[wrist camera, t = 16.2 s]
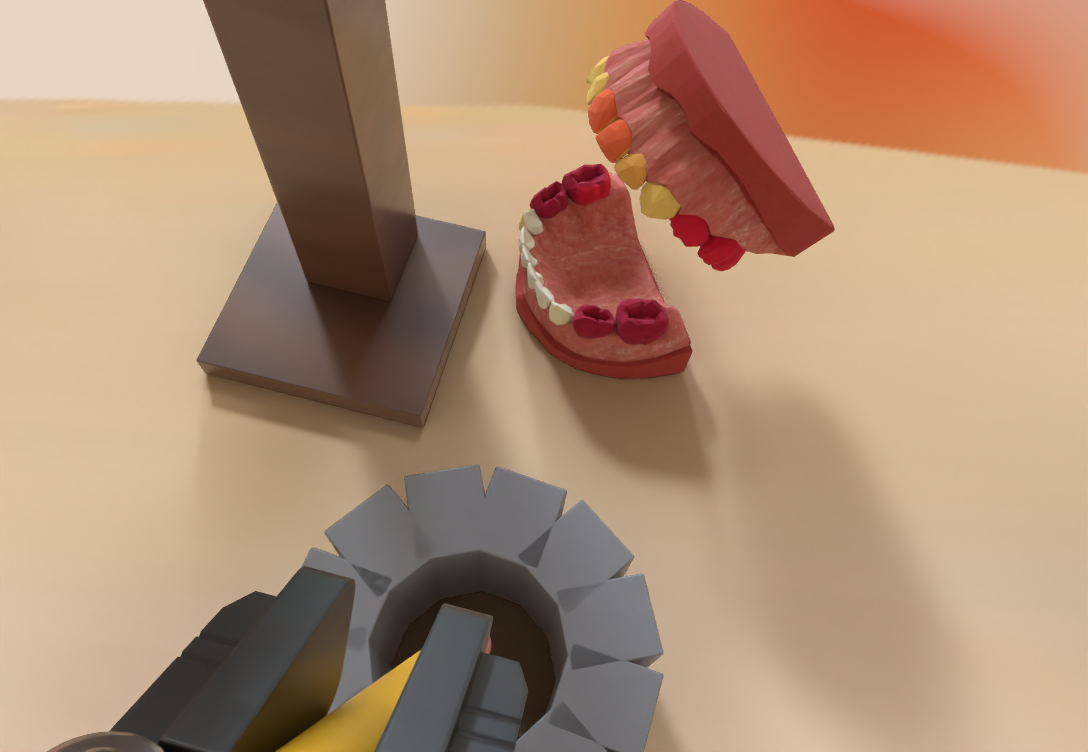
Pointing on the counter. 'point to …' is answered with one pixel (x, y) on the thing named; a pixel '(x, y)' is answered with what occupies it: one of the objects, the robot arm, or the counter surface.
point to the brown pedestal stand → (336, 219)
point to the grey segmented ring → (505, 594)
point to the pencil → (358, 717)
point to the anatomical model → (659, 198)
